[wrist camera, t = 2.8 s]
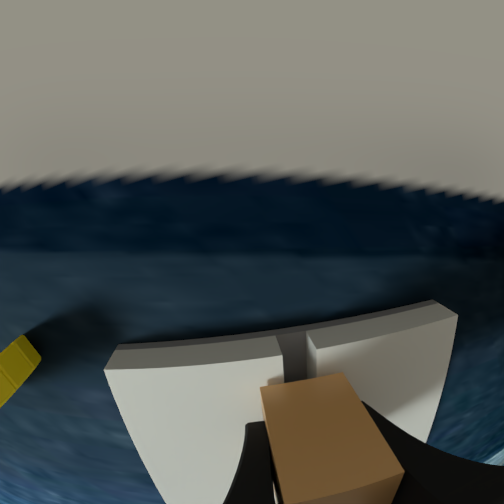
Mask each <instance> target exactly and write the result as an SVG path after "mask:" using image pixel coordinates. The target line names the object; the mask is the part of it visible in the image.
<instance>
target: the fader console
mask: <svg viewBox="0 0 504 504" xmlns="http://www.w3.org/2000/svg"><path fill="white" fill-rule="evenodd" d="M457 319H458V315H457V314H456V313H454V312H452V311H451V310H449V309H448V308H446V307H444V306H443V305H441V304H439V303H438V302H436V301H434V300H433V299H432V300H428V301H424V302H420V303H416V304H411V305H407V306H402V307H398V308H393V309H389V310H384V311H379V312H374V313H369V314H364V315H359V316H354V317H349V318H343V319H338V320H332V321H326V322H321V323H315V324H309V325H302V326H296V327H289V328H283V329H276V330H268V331H261V332H253V333H246V334H237V335H229V336H220V337H210V338H200V339H189V340H178V341H165V342H151V343H135V344H118V346H117V347H116V349H115V351H114V353H113V354H112V356H111V358H110V359H109V361H108V363H107V365H106V367H105V368H104V372H105V375H106V377H107V380H108V383H109V386H110V388H111V391H112V393H113V396H114V399H115V401H116V404H117V406H118V408H119V411H120V413H121V416H122V418H123V420H124V423H125V425H126V427H127V429H128V432H129V434H130V436H131V438H132V440H133V442H134V444H135V447H136V449H137V451H138V453H139V455H140V457H141V459H142V461H143V463H144V465H145V467H146V469H147V470H148V472H149V474H150V476H151V478H152V480H153V482H154V483H155V485H156V487H157V489H158V491H159V492H160V494H161V496H162V497H163V499H164V501H165V503H166V504H223V502H224V500H225V498H226V496H227V494H228V491H229V489H230V487H231V484H232V481H233V479H234V476H235V473H236V470H237V467H238V464H239V460H240V457H241V453H242V448H243V443H244V437H245V425H246V424H247V423H249V422H257V421H263V413H262V404H261V395H260V387H263V386H270V385H276V384H283V383H288V382H294V381H299V380H306V379H311V378H317V377H322V376H327V375H332V374H336V373H341V372H343V373H344V375H345V376H346V378H347V380H348V381H349V383H350V384H351V386H352V388H353V389H354V391H355V392H356V394H357V395H358V397H359V399H360V400H361V401H364V402H365V403H366V404H368V405H369V406H370V407H372V408H373V409H374V410H376V411H377V412H378V413H380V414H381V415H382V416H384V417H385V418H386V419H388V420H389V421H390V422H392V423H393V424H395V425H396V426H398V427H399V428H401V429H402V430H404V431H405V432H407V433H408V434H410V435H412V436H413V437H415V438H417V439H419V440H420V441H422V442H424V443H426V441H427V438H428V435H429V432H430V429H431V426H432V423H433V420H434V417H435V414H436V411H437V407H438V404H439V400H440V397H441V393H442V390H443V386H444V382H445V378H446V374H447V370H448V365H449V361H450V356H451V352H452V347H453V342H454V336H455V331H456V325H457ZM274 498H275V493H274ZM275 503H276V498H275ZM276 504H277V503H276Z"/></svg>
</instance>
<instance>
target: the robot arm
mask: <svg viewBox="0 0 504 504" xmlns="http://www.w3.org/2000/svg"><path fill="white" fill-rule="evenodd" d="M361 402H362V403H363V405H364V407H365V408H366V410H367V411H368V413H369V415H370V416H371V418H372V419H373V421H374V423H375V424H376V426H377V427H378V429H379V431H380V432H381V434H382V435H383V437H384V439H385V440H386V442H387V444H388V445H389V447H390V448H391V450H392V452H393V453H394V455H395V456H396V458H397V460H398V461H399V463H400V465H401V466H402V468H403V469H404V471H405V472H404V475H403V477H402V480H401V482H400V485H399V487H398V489H397V492H396V494H395V496H394V498H393V501H392V503H391V504H504V466H498V465H490V464H485V463H479V462H475V461H471V460H467V459H464V458H460V457H457V456H454V455H451V454H449V453H446V452H443V451H441V450H439V449H437V448H434V447H432V446H430V445H428V444H426V443H424V442H422V441H420V440H419V439H417V438H415V437H413V436H412V435H410V434H408V433H407V432H405V431H404V430H402V429H401V428H399V427H398V426H396V425H395V424H393V423H392V422H390V421H389V420H388V419H386V418H385V417H384V416H382V415H381V414H380V413H378V412H377V411H376V410H374V409H373V408H372V407H370V406H369V405H368V404H366V403H365V402H364V401H361ZM223 504H276V503H275V498H274V486H273V475H272V466H271V456H270V447H269V438H268V433H267V429H266V425H265V421H257V422H249V423H247V424H246V425H245V437H244V443H243V448H242V453H241V457H240V460H239V464H238V467H237V470H236V473H235V476H234V479H233V481H232V484H231V487H230V489H229V491H228V494H227V496H226V498H225V500H224V502H223Z"/></svg>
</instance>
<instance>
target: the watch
mask: <svg viewBox="0 0 504 504" xmlns="http://www.w3.org/2000/svg"><path fill="white" fill-rule="evenodd" d="M40 361H41V356H40V355H39V354H38V352H37V351H36V350H35V349H34V347H33V346H32V345H31V344H30V342H29V341H28V340H27V338H26V337H25V336H24V335H21V336H19V337H18V338H17V339H16V340H15V341H13V342H12V343H11V344H10V345H9V346H8V347H7V348H6V349H5V350H4V351H2V352H1V353H0V408H1V407H2V405H3V404H4V403H5V402H6V401H7V400H8V399H9V398H10V397H11V396H12V395H13V394H14V393H15V392H16V389H18V388H19V387H20V386H21V385H22V384H23V382H24V381H25V380H26V379H27V378H28V377H29V375H30V374H31V373H32V372H33V370H35V368H36V367H37V365H38V364H39V362H40Z"/></svg>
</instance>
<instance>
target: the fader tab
mask: <svg viewBox="0 0 504 504" xmlns="http://www.w3.org/2000/svg"><path fill="white" fill-rule="evenodd" d="M260 395H261V404H262V413H263V421H265V425H266V429H267V433H268V438H269V447H270V456H271V466H272V475H273V486H274V493H275V498H276V503H277V504H391V503H392V501H393V498H394V496H395V494H396V492H397V489H398V487H399V485H400V482H401V480H402V477H403V475H404V472H405V471H404V469H403V468H402V466H401V465H400V463H399V461H398V460H397V458H396V456H395V455H394V453H393V452H392V450H391V448H390V447H389V445H388V444H387V442H386V440H385V439H384V437H383V435H382V434H381V432H380V431H379V429H378V427H377V426H376V424H375V423H374V421H373V419H372V418H371V416H370V415H369V413H368V411H367V410H366V408H365V407H364V405H363V403H362V402H361V400H360V399H359V397H358V395H357V394H356V392H355V391H354V389H353V388H352V386H351V384H350V383H349V381H348V380H347V378H346V376H345V375H344V373H343V372H341V373H336V374H332V375H327V376H322V377H317V378H311V379H306V380H299V381H294V382H288V383H283V384H276V385H270V386H263V387H260Z"/></svg>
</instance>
